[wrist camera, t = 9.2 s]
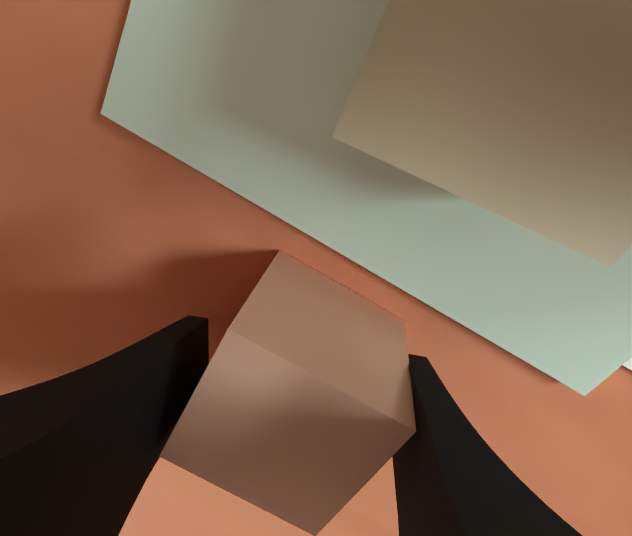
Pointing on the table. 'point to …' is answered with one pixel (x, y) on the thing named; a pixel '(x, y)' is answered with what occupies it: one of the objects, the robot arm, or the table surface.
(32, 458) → the robot arm
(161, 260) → the table surface
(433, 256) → the plate
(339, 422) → the pinkish tan cube
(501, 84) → the beech block
